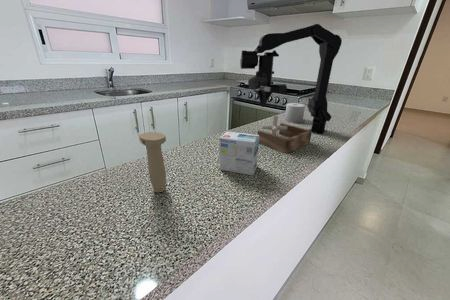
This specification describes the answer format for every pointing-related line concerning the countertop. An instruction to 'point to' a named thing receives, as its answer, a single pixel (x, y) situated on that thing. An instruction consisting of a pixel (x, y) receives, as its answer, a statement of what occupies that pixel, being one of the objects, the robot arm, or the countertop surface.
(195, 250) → the countertop surface
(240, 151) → the light bulb box
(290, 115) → the toilet tissue
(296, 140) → the walnut bay
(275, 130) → the pipe connector
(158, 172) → the handle
